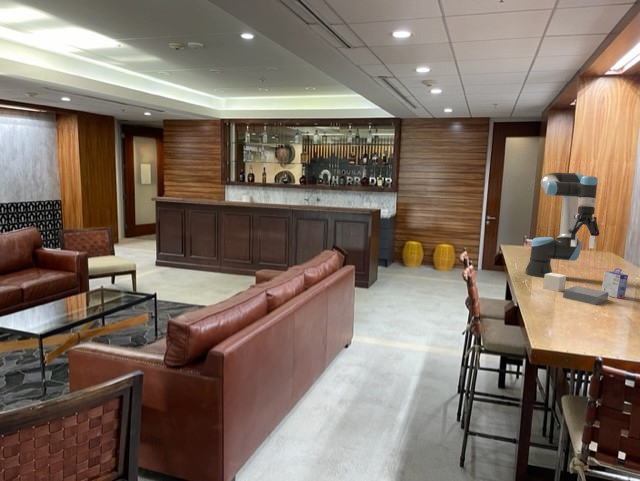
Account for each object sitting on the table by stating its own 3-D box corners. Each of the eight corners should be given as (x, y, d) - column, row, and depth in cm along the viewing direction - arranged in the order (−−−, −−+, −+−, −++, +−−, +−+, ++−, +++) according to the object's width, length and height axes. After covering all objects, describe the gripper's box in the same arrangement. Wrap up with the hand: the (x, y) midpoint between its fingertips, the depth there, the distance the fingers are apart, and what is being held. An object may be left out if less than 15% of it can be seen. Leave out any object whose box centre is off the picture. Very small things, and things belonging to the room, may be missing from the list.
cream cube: (549, 286, 252) (551, 272, 250) (564, 289, 246) (566, 275, 244) (542, 288, 247) (544, 274, 245) (558, 292, 241) (560, 277, 239)
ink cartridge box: (625, 298, 233) (629, 270, 231) (617, 298, 232) (621, 270, 229) (608, 293, 242) (612, 266, 240) (600, 293, 241) (604, 266, 239)
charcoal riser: (575, 293, 239) (576, 285, 239) (607, 299, 228) (608, 292, 228) (562, 297, 229) (563, 289, 229) (595, 304, 218) (596, 296, 217)
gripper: (576, 203, 226) (572, 246, 227) (609, 208, 236) (605, 249, 237) (563, 204, 233) (559, 245, 234) (596, 209, 243) (592, 248, 243)
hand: (582, 247), depth 235 cm, fingers open, 13 cm apart
